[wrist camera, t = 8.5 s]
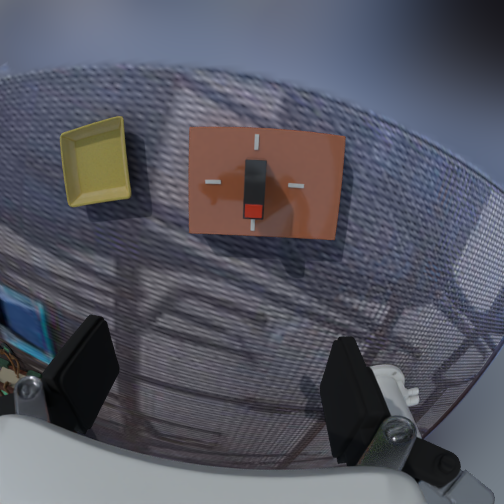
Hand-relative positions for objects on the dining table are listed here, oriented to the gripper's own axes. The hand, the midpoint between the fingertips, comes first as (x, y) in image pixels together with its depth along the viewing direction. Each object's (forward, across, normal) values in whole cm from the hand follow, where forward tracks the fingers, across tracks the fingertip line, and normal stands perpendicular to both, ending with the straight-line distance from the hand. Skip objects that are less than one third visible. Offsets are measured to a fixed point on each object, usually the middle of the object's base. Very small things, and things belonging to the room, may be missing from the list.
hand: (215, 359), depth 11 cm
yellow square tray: (+20, +16, -7) cm, 26 cm away
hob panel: (+20, -2, -5) cm, 21 cm away
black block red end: (+17, -1, -5) cm, 18 cm away
